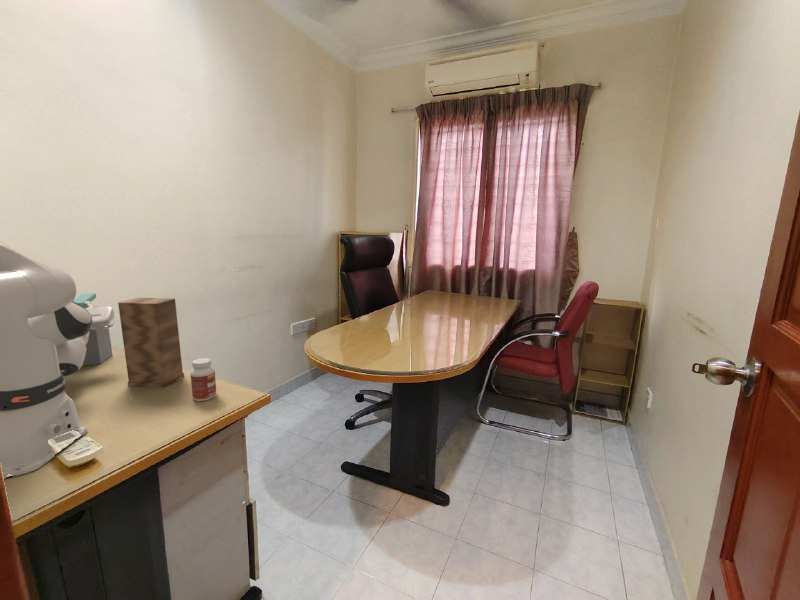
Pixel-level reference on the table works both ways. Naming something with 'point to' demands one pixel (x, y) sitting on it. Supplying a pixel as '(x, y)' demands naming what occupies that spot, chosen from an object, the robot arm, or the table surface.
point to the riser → (98, 347)
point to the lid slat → (84, 298)
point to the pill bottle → (203, 380)
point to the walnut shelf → (151, 341)
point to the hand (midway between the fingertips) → (77, 303)
